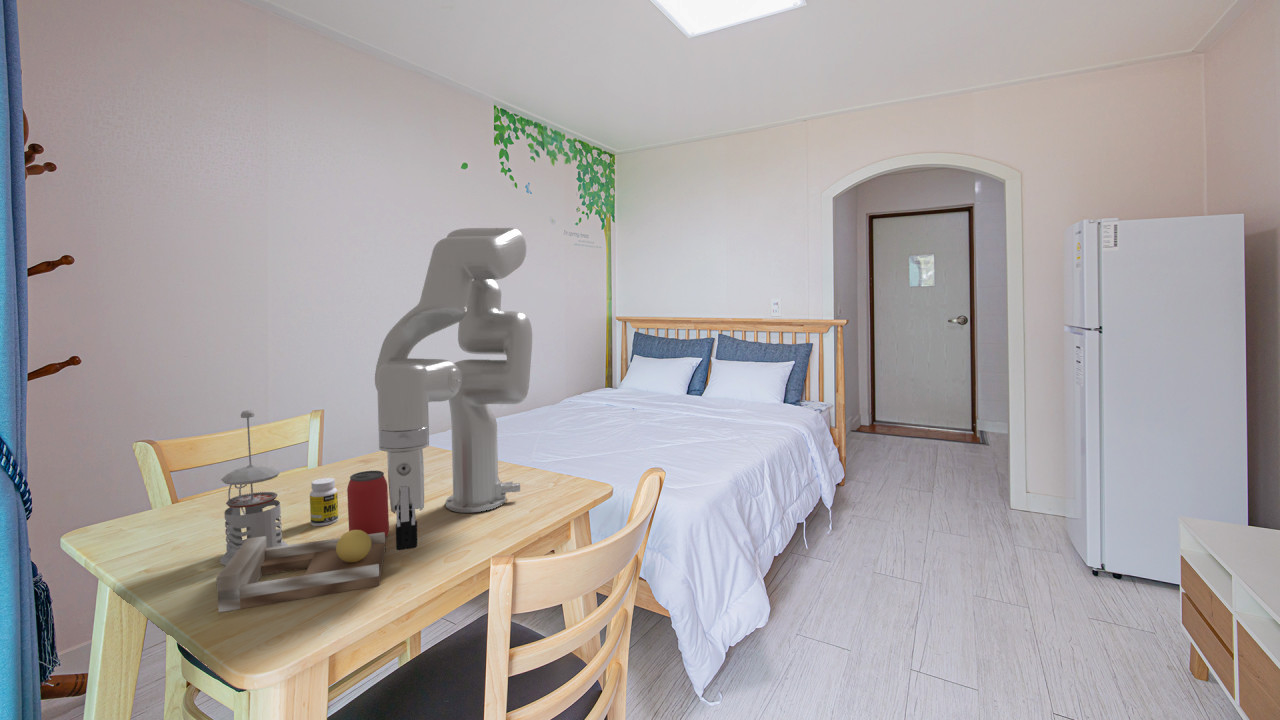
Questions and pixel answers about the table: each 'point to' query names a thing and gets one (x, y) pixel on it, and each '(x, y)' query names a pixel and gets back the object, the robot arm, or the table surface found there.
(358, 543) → the ball
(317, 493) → the supplement bottle
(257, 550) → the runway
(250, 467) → the french press
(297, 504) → the table surface
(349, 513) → the beer can
